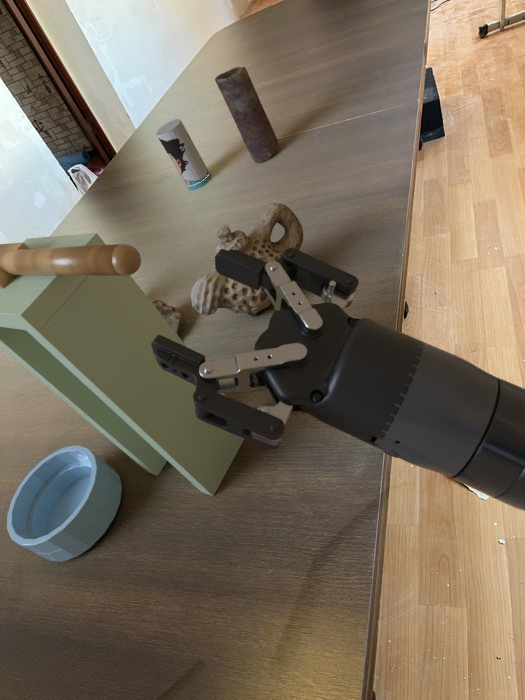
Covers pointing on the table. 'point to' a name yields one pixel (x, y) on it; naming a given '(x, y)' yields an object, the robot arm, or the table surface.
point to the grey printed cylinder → (183, 153)
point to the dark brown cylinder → (248, 113)
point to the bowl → (64, 504)
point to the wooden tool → (67, 261)
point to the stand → (111, 365)
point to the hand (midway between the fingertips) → (187, 300)
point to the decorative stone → (168, 314)
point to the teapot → (231, 293)
